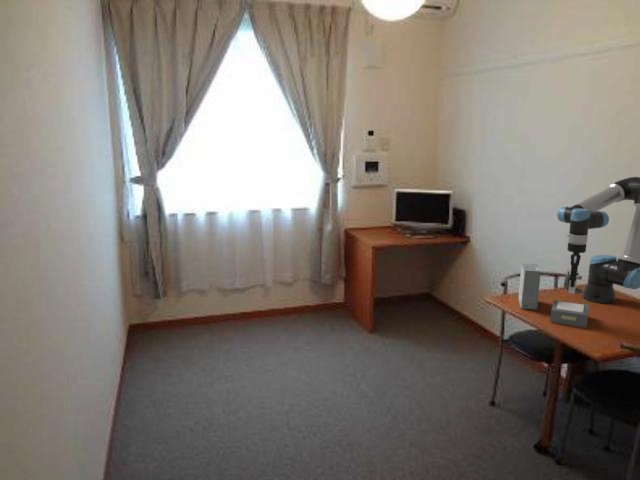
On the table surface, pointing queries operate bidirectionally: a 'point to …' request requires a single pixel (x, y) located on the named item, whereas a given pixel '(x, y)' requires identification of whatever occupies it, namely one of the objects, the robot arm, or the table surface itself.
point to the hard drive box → (529, 286)
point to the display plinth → (569, 313)
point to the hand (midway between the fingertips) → (571, 290)
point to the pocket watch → (566, 284)
